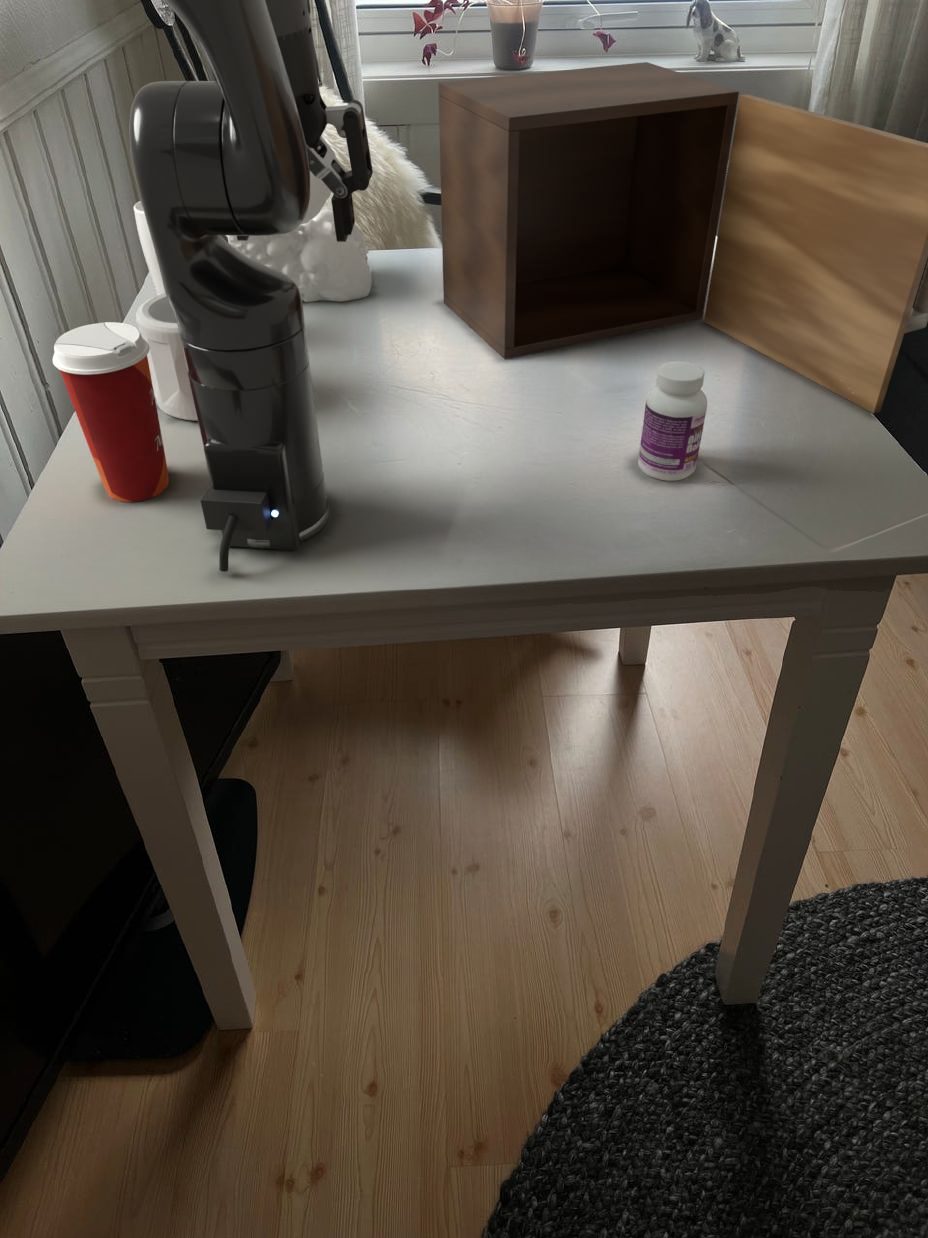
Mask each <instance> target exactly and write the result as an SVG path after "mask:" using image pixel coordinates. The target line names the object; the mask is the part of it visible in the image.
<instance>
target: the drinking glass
mask: <svg viewBox="0 0 928 1238" xmlns="http://www.w3.org/2000/svg"><path fill="white" fill-rule="evenodd" d="M133 213H134V219H135V224H136V229H137V234H138V239H139V242H140V246H141V250H142V253H143V255H144V256H143V257H144V260H145V263H146V265H147V269H148V273H149V276H150V278H151V281H152V285H153V288H154V292H155V294H156V295H155V296H157V295H160V294H163V293H165V289H164V285H163V281H162V277H161V273H160V269H159V265H158V261H157V257H156V253H155V250H154V246H153V242H152V239H151V235H150V231H149V228H148V224H147V221H146V217H145V214H144V210H143V207H142V203H141V200H138V201H137V202H135V204H134V205H133Z"/></svg>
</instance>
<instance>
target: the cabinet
mask: <svg viewBox="0 0 928 1238" xmlns="http://www.w3.org/2000/svg"><path fill="white" fill-rule="evenodd" d="M437 84H438V86H437V87H438V89H437V90H438V123H439V124H438V126H439V127H438V128H439V129H438V130H439V166H440V167H439V169H440V206H441V208H440V210H441V248H442V249H441V251H442V253H441V254H442V291H443V292H442V293H443V295H442V296H443V304H444V305H445V306H447V308H449V309H450V310H451V311H452V313H454V314H455V315H456V316H457V317H458V318H459V319H460V320H461V321H463V322H464V323H465V324H466V325H467V326H468V328H470V329H471V330H472V331H473V332H474V333H475V334H477V335H478V337H480V338H481V340H483V341H484V342H486V343H487V344H488V345H489V346H490V348H492V350H494V351H495V352H496V353H497V354H498V355H499V356H500V357H502V359H504V360H508V359H512V358H513V359H514V358H518V357H522V356H527V355H532V354H537V353H543V352H545V351H549V350H555V349H559V348H560V349H561V348H566V347H571V346H575V345H580V344H585V343H590V342H596V341H600V340H601V341H602V340H605V339H611V338H615V337H620V336H626V335H630V334H636V333H640V332H641V333H642V332H645V331H652V330H657V329H662V328H666V327H672V326H675V325H682V324H686V323H691V322H696V321H697V322H698V321H702V320H704V316H705V309H706V303H707V297H708V291H709V284H710V278H711V272H712V266H713V259H714V253H715V247H716V241H717V234H718V228H719V222H720V216H721V210H722V203H723V197H724V191H725V185H726V178H727V172H728V166H729V160H730V153H731V147H732V141H733V135H734V128H735V122H736V116H737V110H738V103H739V97H740V91H738V90H735V89H733V88H729V87H725V86H723V85H719V84H717V83H715V82H714V83H713V82H710V81H707V80H703V79H701V78H697V77H696V76H692V75H688V74H685V73H682V72H680V71H676V70H673V69H669V68H666V67H664V66H660V65H658V64H654V63H651V62H648V61H643V62H634V63H633V62H632V63H624V64H613V65H603V66H595V67H594V66H593V67H584V68H583V67H582V68H572V69H564V70H552V71H543V72H531V73H523V74H513V75H503V76H492V77H483V78H472V79H463V80H462V79H461V80H452V81H442V82H438V83H437Z"/></svg>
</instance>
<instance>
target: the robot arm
mask: <svg viewBox="0 0 928 1238" xmlns="http://www.w3.org/2000/svg"><path fill="white" fill-rule="evenodd" d="M163 1H164V2H165V3H166V4H167V6H169V7H170V8H171V10H172V11H173V12H174V13H175V14H176V16H177V17H178V18H179V20H180V21H181V23H183V25H184V26H185V28H186V29H187V30H188V32H189V33H190V35H191V36H192V38H193V39H194V41H195V43H196V44H197V47H198V48H199V49H200V52H201V53H202V55H203V57H204V58H205V60H206V62H207V65H208V66H209V69H210V71H211V73H212V75H213V78H214V79H215V80H163V81H152V82H149V83H147V84H145V85H144V86H142V87H141V88H140V89H139V90H138V91H137V93H136V94H135V96H134V98H133V101H132V104H131V107H130V112H129V121H128V137H129V151H130V158H131V163H132V169H133V175H134V179H135V184H136V188H137V191H138V195H139V199H140V200H139V201H141V203H142V207H143V210H144V214H145V217H146V221H147V224H148V228H149V231H150V235H151V239H152V242H153V246H154V250H155V253H156V257H157V261H158V265H159V269H160V273H161V277H162V281H163V285H164V289H165V293H166V296H167V299H168V301H169V304H170V306H171V308H172V310H173V312H174V314H175V317H176V320H177V325H178V329H179V333H180V339H181V343H182V348H183V353H184V357H185V362H186V367H187V371H188V377H189V381H190V386H191V391H192V395H193V400H194V405H195V409H196V414H197V419H198V421H197V423H198V427H199V432H200V437H201V441H202V446H203V451H204V457H205V461H206V466H207V471H208V476H209V481H210V485H211V486H208V487H206V490H205V491H204V493H203V494H202V496H201V498H200V499H199V500H200V506H201V510H202V515H203V518H204V522H205V527H206V530H211V531H212V530H213V531H220V532H221V535H222V536H221V542H220V547H219V555H218V557H219V559H218V562H219V563H218V564H219V565H218V566H219V571H220V572H222V573H226V572H228V571H229V555H230V548H231V547H237V548H239V547H240V548H251V549H252V548H253V549H269V550H286V551H295V550H297V549H298V547H299V545H300V544H301V543H302V542H303V541H306V540H308V539H309V538H312V537H313V536H315V535H316V534H317V533H319V532H320V531H321V530H322V529H323V528H324V527H325V525H326V524H327V523H328V520H329V517H330V507H329V506H330V505H329V501H328V497H327V491H326V484H325V475H324V469H323V461H322V452H321V446H320V436H319V429H318V422H317V421H318V420H317V413H316V405H315V397H314V389H313V381H312V380H313V379H312V375H311V374H312V372H311V366H310V355H309V346H308V338H307V329H306V322H305V314H304V306H303V300H302V298H301V294H300V291H299V288H298V286H297V285H296V283H295V282H294V281H293V280H292V279H291V278H290V277H288V276H287V275H285V274H284V273H282V272H280V271H278V270H276V269H273V268H271V267H268V266H266V265H263V264H261V263H259V262H257V261H254V260H253V259H251V258H249V257H247V256H245V255H244V254H242V253H241V252H239V251H238V250H237V249H235V248H234V247H233V246H231V245H230V244H229V242H228V240H226V239H225V238H224V236H226V235H232V236H237V240H238V241H247V239H248V237H249V236H271V235H279V234H285V233H289V232H291V231H293V230H295V229H296V228H298V226H299V225H300V224H301V223H302V221H303V220H304V218H305V216H306V213H307V210H308V206H309V200H310V171H311V173H312V174H313V175H314V176H315V177H316V178H319V179H321V180H322V181H323V182H324V184H325V185H326V186H327V187H328V188H329V189H330V191H331V194H332V196H331V199H330V201H331V209H333V217H334V224H335V232H336V239H337V242H346V240H347V237H348V235H351V233H352V230H353V227H354V224H356V218H355V210H354V209H355V208H354V199H353V193H355V192H357V191H362V192H363V191H367V189H368V188H369V185H370V180H371V179H372V177H373V173H374V170H373V169H374V168H373V163H372V157H371V150H370V144H369V139H368V131H367V125H366V118H365V111H364V106H363V104H362V103H361V101H359V100H357V99H352V100H350V101H349V102H348V104H347V105H334V106H333V105H332V106H327V105H326V103H325V101H324V99H323V97H322V95H321V90H320V84H319V76H318V68H317V59H316V52H315V46H314V45H315V44H314V36H313V29H312V22H311V21H312V20H311V2H310V0H163ZM329 124H330V125H331V126H333V127H334V128H335V130H336V133H337V135H338V136H339V137H340V138H342V139H345V141H346V146H347V153H348V158H349V159H348V160H349V164H350V170H347V169H346V168H345V166H344V165H343V164H342V163H341V161H340V160H339V159H338V158H337V156H336V153H335V151H334V149H332V147H331V146H330V145H329V144H328V142H327V141H326V140H325V139H324V138H323V137H322V135H323V134H324V131H325V130H326V128H327V126H328V125H329Z"/></svg>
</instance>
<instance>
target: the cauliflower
mask: <svg viewBox="0 0 928 1238" xmlns="http://www.w3.org/2000/svg"><path fill="white" fill-rule="evenodd" d="M331 194H332V192H331V191H330V189H329V188H328V187H327V186H326V185H325V184H324V182H323V181H322V180H321V179H319V178H316V177H315V176H314V175H313V174H312V173H311V171H310V200H309V206H308V210H307V213H306V216H305V218H304V220H303V221H302V223H301V224H300V225H299V226H298V228H296V229H295V230H293V231H291V232H289V233H285V234H279V235H271V236H249V237H248V239H247V241H238V240H237V236H232V235H225V237H227V242H228V243H229V244H230V245H231V246H233V247H234V248H235V249H237V250H238V251H239V252H241V253H242V254H244V255H245V256H247V257H249V258H251V259H253V260H254V261H257V262H259V263H261V264H263V265H266V266H268V267H271V268H273V269H276V270H278V271H280V272H282V273H284V274H285V275H287V276H288V277H290V278H291V279H292V280H293V281H294V282H295V283H296V285H297V286H298V288H299V291H300V294H301V298H302V302H305V303H311V302H317V301H329V302H348V301H353V300H359V299H363V298H366V297H367V296H369V294H370V292H371V288H372V271H371V267H370V266H369V264H368V260H369V257H368V256H367V255H368V253H369V251H370V250H369V246H368V245H367V246H366V239H365V236H364V234H363V232H362V231H361V229H360V228H359V226H358V225H357V224H356V223H354V227H353V230H352V233H351V235H348V237H347V240H346V242H337V239H336V232H335V224H334V217H333V209H332V207H330V206H325V204H326V202H327V200H329V198H330V196H331Z"/></svg>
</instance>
